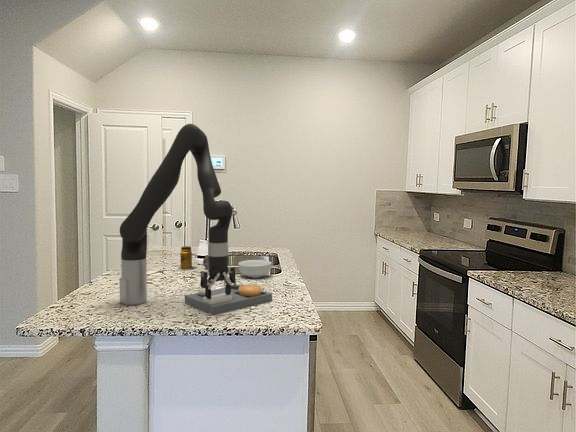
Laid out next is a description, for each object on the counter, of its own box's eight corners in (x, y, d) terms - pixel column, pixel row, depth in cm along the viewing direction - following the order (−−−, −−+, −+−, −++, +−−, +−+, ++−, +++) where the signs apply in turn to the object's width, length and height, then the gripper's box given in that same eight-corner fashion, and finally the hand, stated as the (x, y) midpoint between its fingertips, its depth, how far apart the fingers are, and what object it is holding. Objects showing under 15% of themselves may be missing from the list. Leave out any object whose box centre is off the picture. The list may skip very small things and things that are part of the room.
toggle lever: (234, 285, 173) (232, 272, 174) (232, 285, 175) (229, 273, 176) (238, 284, 175) (235, 271, 176) (235, 285, 176) (233, 272, 177)
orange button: (248, 297, 161) (248, 291, 161) (234, 292, 168) (234, 287, 167) (266, 293, 167) (266, 287, 167) (251, 289, 174) (251, 283, 174)
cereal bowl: (254, 271, 224) (254, 258, 223) (278, 276, 213) (278, 262, 213) (231, 276, 211) (231, 262, 210) (255, 281, 200) (255, 267, 199)
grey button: (201, 296, 161) (201, 292, 161) (196, 294, 164) (196, 290, 164) (209, 295, 164) (209, 291, 164) (204, 293, 166) (204, 289, 166)
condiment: (177, 269, 226) (177, 247, 225) (186, 266, 234) (186, 245, 233) (188, 270, 224) (188, 248, 223) (197, 267, 232) (197, 246, 231)
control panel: (213, 315, 149) (213, 303, 148) (184, 302, 163) (184, 292, 163) (272, 300, 168) (272, 290, 168) (241, 291, 182) (241, 281, 182)
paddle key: (211, 305, 152) (211, 300, 151) (202, 302, 155) (202, 297, 155) (232, 301, 158) (232, 295, 158) (224, 298, 162) (224, 293, 162)
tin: (202, 269, 227) (202, 253, 226) (206, 268, 230) (206, 253, 229) (225, 272, 220) (225, 256, 219) (228, 271, 223) (228, 255, 222)
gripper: (207, 257, 148) (207, 302, 149) (239, 253, 158) (239, 295, 159) (196, 254, 153) (196, 298, 155) (227, 250, 163) (228, 291, 165)
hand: (218, 296), depth 157 cm, fingers open, 8 cm apart
